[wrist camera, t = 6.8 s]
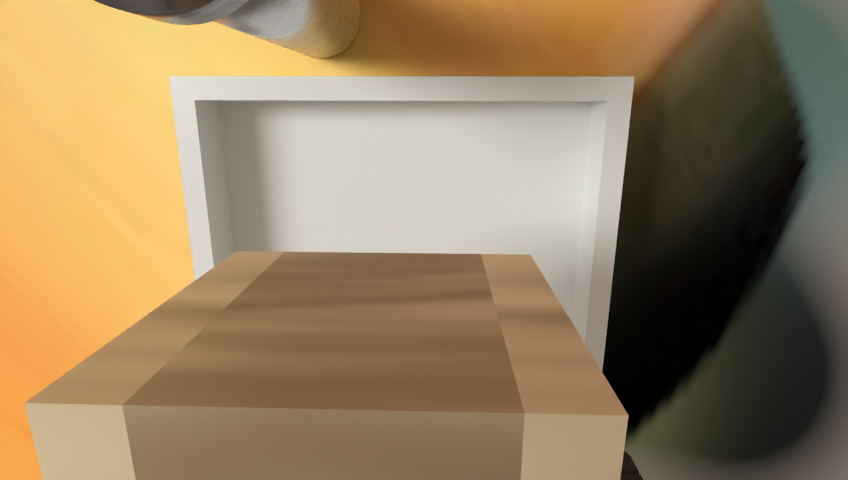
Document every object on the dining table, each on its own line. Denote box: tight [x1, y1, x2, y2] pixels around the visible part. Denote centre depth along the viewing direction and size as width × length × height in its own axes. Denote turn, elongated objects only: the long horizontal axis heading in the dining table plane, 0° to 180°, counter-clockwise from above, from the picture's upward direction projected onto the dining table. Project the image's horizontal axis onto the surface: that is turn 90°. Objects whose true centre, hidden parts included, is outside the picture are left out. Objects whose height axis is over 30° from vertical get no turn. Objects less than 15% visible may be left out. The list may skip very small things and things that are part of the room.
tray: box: [169, 76, 635, 371], centre depth 25 cm, size 20×20×3 cm
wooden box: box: [25, 251, 628, 480], centre depth 12 cm, size 9×9×8 cm
